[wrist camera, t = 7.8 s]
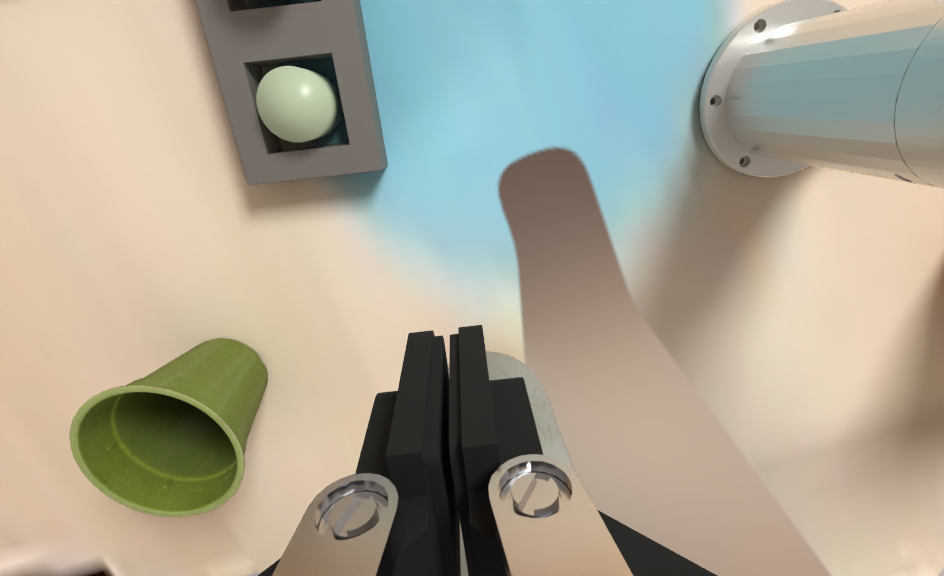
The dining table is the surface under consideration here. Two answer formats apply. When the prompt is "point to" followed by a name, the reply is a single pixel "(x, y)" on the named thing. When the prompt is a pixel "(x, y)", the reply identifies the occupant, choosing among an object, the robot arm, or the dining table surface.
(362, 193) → the dining table surface
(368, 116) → the button panel
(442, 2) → the dining table surface
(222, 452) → the plant pot
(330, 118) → the sage button
